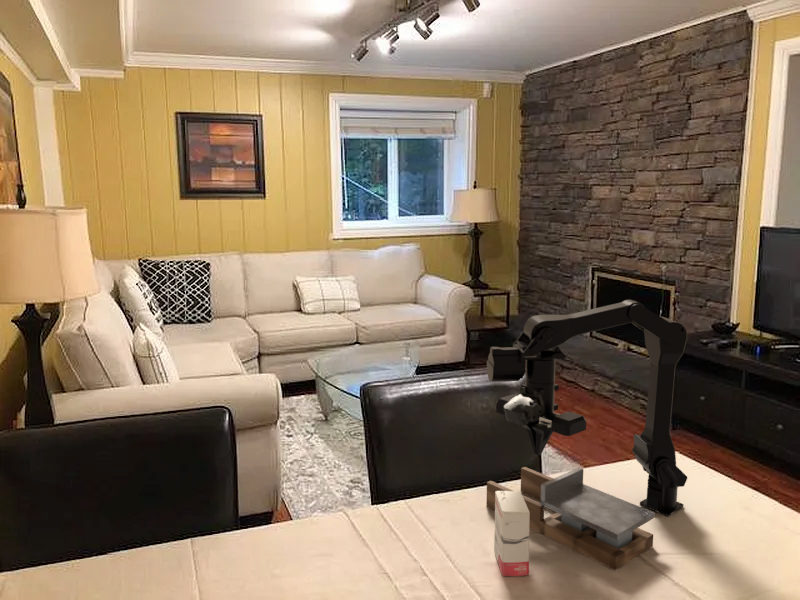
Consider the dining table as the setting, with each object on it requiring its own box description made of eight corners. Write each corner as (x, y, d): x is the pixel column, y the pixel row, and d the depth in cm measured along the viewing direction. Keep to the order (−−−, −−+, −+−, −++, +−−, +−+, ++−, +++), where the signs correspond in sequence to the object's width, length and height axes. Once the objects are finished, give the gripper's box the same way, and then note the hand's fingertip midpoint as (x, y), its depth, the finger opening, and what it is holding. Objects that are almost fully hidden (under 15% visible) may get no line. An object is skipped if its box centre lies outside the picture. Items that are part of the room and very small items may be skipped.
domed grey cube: (609, 539, 124) (611, 512, 123) (631, 549, 120) (632, 521, 120) (595, 547, 121) (597, 520, 120) (617, 558, 118) (618, 529, 117)
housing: (524, 489, 145) (524, 466, 144) (652, 547, 121) (654, 519, 120) (486, 506, 137) (486, 482, 136) (615, 570, 114) (617, 542, 113)
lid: (578, 486, 133) (579, 467, 132) (654, 517, 120) (655, 496, 119) (540, 504, 125) (541, 484, 125) (617, 539, 113) (618, 517, 112)
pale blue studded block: (575, 524, 130) (576, 498, 129) (594, 532, 126) (595, 506, 125) (561, 531, 127) (561, 505, 126) (580, 540, 124) (581, 513, 123)
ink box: (529, 576, 112) (531, 512, 110) (501, 577, 112) (502, 512, 110) (519, 549, 121) (521, 489, 119) (493, 549, 121) (494, 489, 119)
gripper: (477, 377, 132) (476, 450, 135) (552, 399, 118) (549, 481, 120) (514, 367, 139) (512, 437, 141) (589, 387, 125) (586, 465, 127)
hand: (537, 454), depth 132 cm, fingers closed
